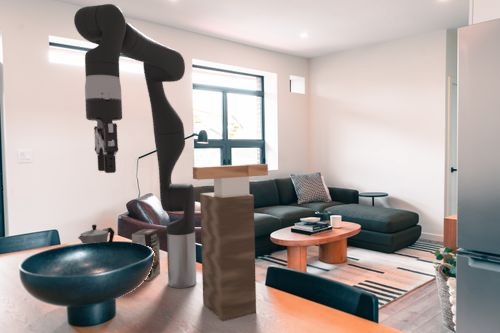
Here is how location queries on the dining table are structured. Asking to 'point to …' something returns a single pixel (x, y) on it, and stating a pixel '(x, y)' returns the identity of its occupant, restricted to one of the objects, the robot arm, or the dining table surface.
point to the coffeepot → (97, 235)
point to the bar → (230, 171)
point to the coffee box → (152, 240)
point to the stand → (228, 255)
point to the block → (231, 187)
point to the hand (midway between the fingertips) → (106, 171)
